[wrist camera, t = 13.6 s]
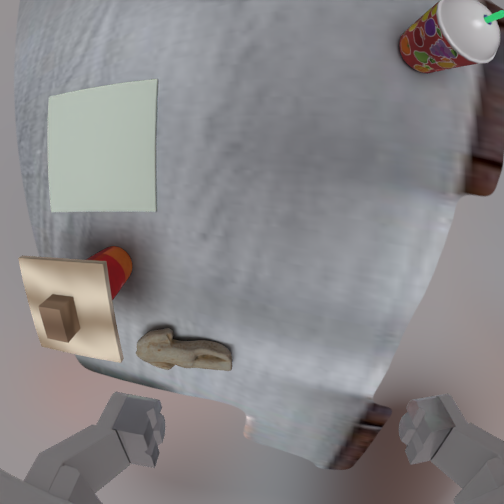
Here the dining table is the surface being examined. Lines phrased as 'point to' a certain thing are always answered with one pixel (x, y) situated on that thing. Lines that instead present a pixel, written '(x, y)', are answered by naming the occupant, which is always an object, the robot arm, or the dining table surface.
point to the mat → (103, 148)
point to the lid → (72, 306)
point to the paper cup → (115, 266)
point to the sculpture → (182, 352)
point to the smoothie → (451, 36)
